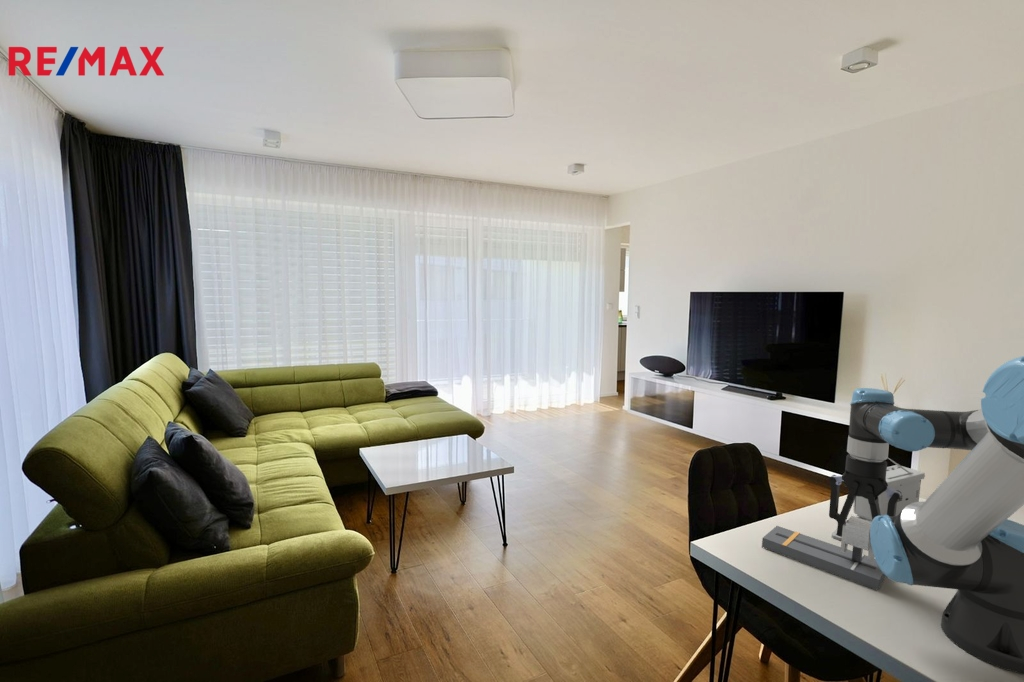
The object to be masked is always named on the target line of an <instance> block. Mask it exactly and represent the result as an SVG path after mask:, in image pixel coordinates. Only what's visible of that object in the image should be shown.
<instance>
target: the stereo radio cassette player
mask: <svg viewBox="0 0 1024 682" xmlns="http://www.w3.org/2000/svg"><path fill="white" fill-rule="evenodd" d="M887 460H890V462H892V463H893V464H895V465H891V466H887V471H886V482H887V484H888V487H890V488H892V489H893V490H895V491H897V490H898V491H900V492H901V493H902V494H901V496H900V497H899V499H898V500H897V507H896V515H895V516H898V515H899V513H900V512H901V511H902V510H903V509H904V508H905V507H906V506H907V505H909V504H911V503H914V502H920V495H921V493H920V492H921V483H922V480H924V479H925V477H926V475H925V472H923V471H921V470H917V469H913V468H911V467H910V468H909V467H906V466H903V465H901V464H899V463H897V462H896V461H894V460H893V459H891V458H889V457H888V458H887ZM878 499H879V501H878V502H879V508H880V513H881V515H887V508H888V502H889V498H887V492H886V491H884V492H883V493H881V494H880V495H879V496H878ZM852 506H853V508H852V509H853V510H852V511H853V513H854V514H855V515H857V517H858V518H861V519H864V520H868V521H871V522H872V515H871V510H870V504H869V502H868V499H866V498H864V497H860V496H856V497H855V500H854V502H853V505H852Z"/></svg>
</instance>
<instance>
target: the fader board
mask: <svg viewBox="0 0 1024 682" xmlns="http://www.w3.org/2000/svg"><path fill="white" fill-rule="evenodd" d="M761 539H762V540H761V548H763V547H764V549H765V548H767V549H766V550H768V549H769V551H771V550H772V551H771V552H773V551H774V552H773V553H776V552H777V554H779V555H781V554H782V556H784V555H785V556H784V557H786V558H790V559H793V560H794V561H797V560H798V561H797V562H800V563H804V564H805V563H806V565H807V566H808V565H809V566H811V567H814V568H817V569H820V570H822V571H824V572H827V573H830V574H833V575H835V576H838V577H840V578H842V579H846V580H849V581H850V582H853V583H856V584H860V585H862V586H863V587H867V588H869V589H873V590H875V591H880V588H881V587H882V585H883V583H884V581H885V579H886V578H887V576H886V575H885V574H884V573H883V572H882V571H881V569H880V568H879V566H878V564H877V562H876V559H875V558H874V560H873V561H872V562H869V561H868V555H865V554H863V553H862V561H861V562H860V563H858V562H855V561H852V552H853V550H850V549H848V548H847V550H846V551H845V553H843V552H840V551H841V546H839V545H835V544H833V543H830V542H826V541H824V540H821V539H818V538H814V537H812V536H809V535H806V534H803V533H800V532H799V531H793V530H791V529H788V528H785V527H781V526H779V525H776V526H775V527H774V528H772V529H771V530H770V531H768V533H766V534H765V535H764V536H763V537H762V538H761ZM880 586H881V587H880Z"/></svg>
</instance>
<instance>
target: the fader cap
mask: <svg viewBox="0 0 1024 682" xmlns="http://www.w3.org/2000/svg"><path fill="white" fill-rule="evenodd" d="M846 520H847V521H846V527H845V537H844V543H846V544H848V546H849V545H850V546H852V551H853V552H852V561H855V562H858V563H860V562H861V561H862V554H863V553H864V552H863V551H867V552H869V550H868V549H869V542H870V527H871V523H872V521H869V520H866V519H864V518H860V517H858V516H857V517H856V516H854V515H851V516H850V517H849V518H847V519H846Z"/></svg>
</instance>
